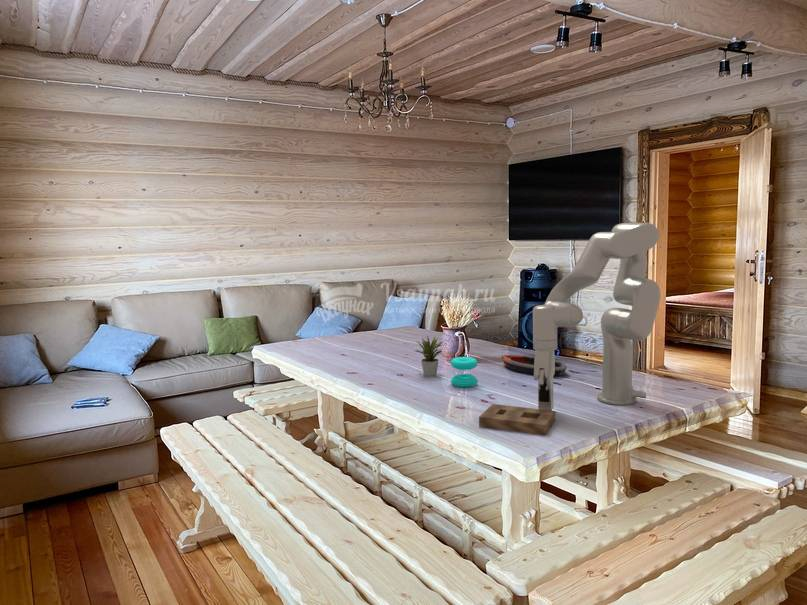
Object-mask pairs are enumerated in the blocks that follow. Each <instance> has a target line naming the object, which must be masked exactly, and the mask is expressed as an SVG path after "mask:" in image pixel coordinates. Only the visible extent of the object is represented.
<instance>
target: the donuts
mask: <svg viewBox="0 0 807 605" xmlns="http://www.w3.org/2000/svg"><path fill="white" fill-rule="evenodd" d="M450 365H451V366H452V368H454V369H456V370H459V371H469V370H472V369H475V368H476V367H477V366H478V361H477V359H476V358H474V357H470V356H460V357H459V356H458V357H454V358H452V359H451V361H450ZM450 383H451V384H452V386H454V387H458V388H472V387H474V386H476V385H477V384H478V378H477V377H476V376H475V375H473V374H469V373H458V374H455V375H454V376H452V377H451V379H450Z"/></svg>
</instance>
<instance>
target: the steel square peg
mask: <svg viewBox="0 0 807 605" xmlns="http://www.w3.org/2000/svg"><path fill="white" fill-rule="evenodd" d="M538 377H539V376H538ZM546 378H547V377H546ZM546 378H544V380H546ZM544 383H545V384H546V382H544ZM548 390H549V402H540V401H539V378H538V379H537V398H538V400H537V401H538V402H537V404H538V408H537V409H542V410H551V411H553V409H554V407H555V406H554V376H553V377H552V378H551V379H550V380H549V381H548Z"/></svg>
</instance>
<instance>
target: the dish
mask: <svg viewBox="0 0 807 605" xmlns="http://www.w3.org/2000/svg"><path fill="white" fill-rule="evenodd" d="M534 359H535V356H533V355H519V354H518V355H516V354H515V355H514V354H504V355H501V360H502V361H503V364H504V365H505V366H506V367H507V368H509V369H511V370H513V371H516V372H518V373H519V372H520V373H524V374H529V375H534ZM566 370H567V365H566V364H565V363H563V362H561V361H559V360H555V373H554V376H553V377H557V376H561V375H563V374H564V373H565V372H566Z"/></svg>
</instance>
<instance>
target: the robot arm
mask: <svg viewBox="0 0 807 605" xmlns="http://www.w3.org/2000/svg"><path fill="white" fill-rule="evenodd" d="M659 239H660V232H659V228H658V227H657V226H656V225H655V224H653V223H650V222H623V223H618V224H615V225H614V226H613V227H612V229H611V231H599V232H595V233H594V234H592V236H591V237H590V238H589V240H588V241H587V243H586V245H585V246H584V248H583V251H582V253H581V255H580V257H579V258H578V260H577V262H576V264H575V266H574V268H573V270H571V271H570V272H568V274H566V275H565V276H564V277H563V278H562V279H560V281H558V282H557V284H555V285H554V287H552V289H551V290H550V293H549V294H548V296H547V297H546V300H545V302H544V304H540V305H539V304H538V305H535V306H533V307H532V345H533V346H532V348H533V350H534V357H535V359H534V374H533V380H534V381H538V378H539V401H540V402H549V390H548V381H549V380H550V379H551V378H552V377H553V378H554V377H555V376H554V373H555V361H556V360H555V351H556V350H558V328H573V327H576V326H578V325H580V323H582V321H583V318H584V312H583V310H582V308H581V307H580V306H578V305H577V304H574V303H570V302H569V300H570V299H571V298H572V297H573V295H575V294H576V293H578V292H579V291H582V290H584V289H586V288H589V287H591V286H593V285H596V283H598V282H599V280H600V277H601V276H602V274H603V272H604V270H605V268H606V266H607V264H608V262H609V261H610V259H613V260H620V262H619V267H618V272H617V275H616V279H615V283H614V286H613V291H612V297H613V299H614V301H615V302H616V303H618V304H621V305H626V306H629V307H630V306H631V307H632V308H631V309H629V308H623V307H611V308H608V309H606V310H605V311H604V313H602V314H601V317H600V327H601V328H600V329H601V333H602V334H601V335H602V344H603V345H602V347H603V348H602V349H603V350H602V351H603V352H602V388H601V389H602V392H600V393H598V394H597V400H598V401H600V402H602V403H605V404H609V405H617V406H625V405H632V404H636V402H637V400H638V399H637V398H640V399H646V398H647V393H646V392H644V391H643V390H636V389H634V388H635V387H634V386H633V367H634V366H633V364H634V363H633V362H634V347H633V346H634V345H633V343H632V341H636V342H640V341H644V340H646V339H648V337H649V336H650V334H651V333H652V330H653V327H654V323H655V321H656V316H657V313H658V310H659V307H660V306H659V305H660V303H661V289H660V287H659V284H658V283H657V282H656V281H654V280H653V279H650V278H645V277H646V273H647V268H648V260H647V256H646V253H645V252H646V251H649V250H651V249H652V248H654V247H656V245H657V244H658V242H659ZM538 376H539V377H538ZM546 377H547V378H546ZM544 378H546V380H544ZM544 382H546V384H545V383H544Z"/></svg>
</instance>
